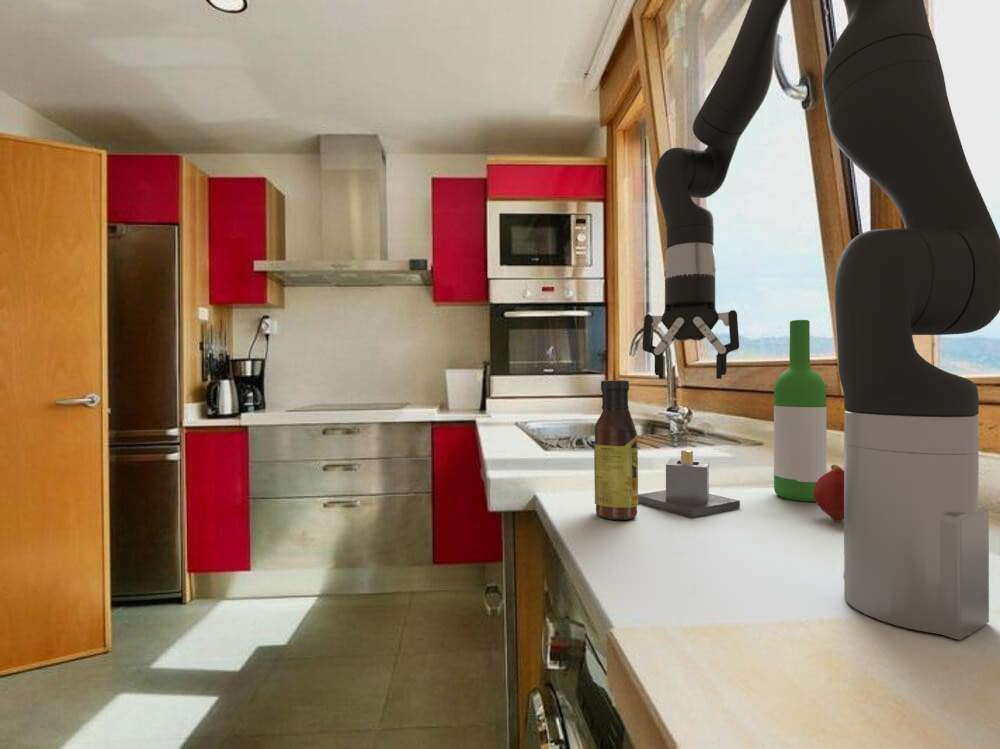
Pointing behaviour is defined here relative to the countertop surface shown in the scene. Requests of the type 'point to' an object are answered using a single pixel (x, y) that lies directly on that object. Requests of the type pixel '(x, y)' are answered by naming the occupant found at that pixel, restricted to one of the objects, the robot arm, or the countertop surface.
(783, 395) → the wine bottle
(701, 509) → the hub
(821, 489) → the onion
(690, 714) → the countertop surface
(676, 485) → the collar
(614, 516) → the sauce bottle
